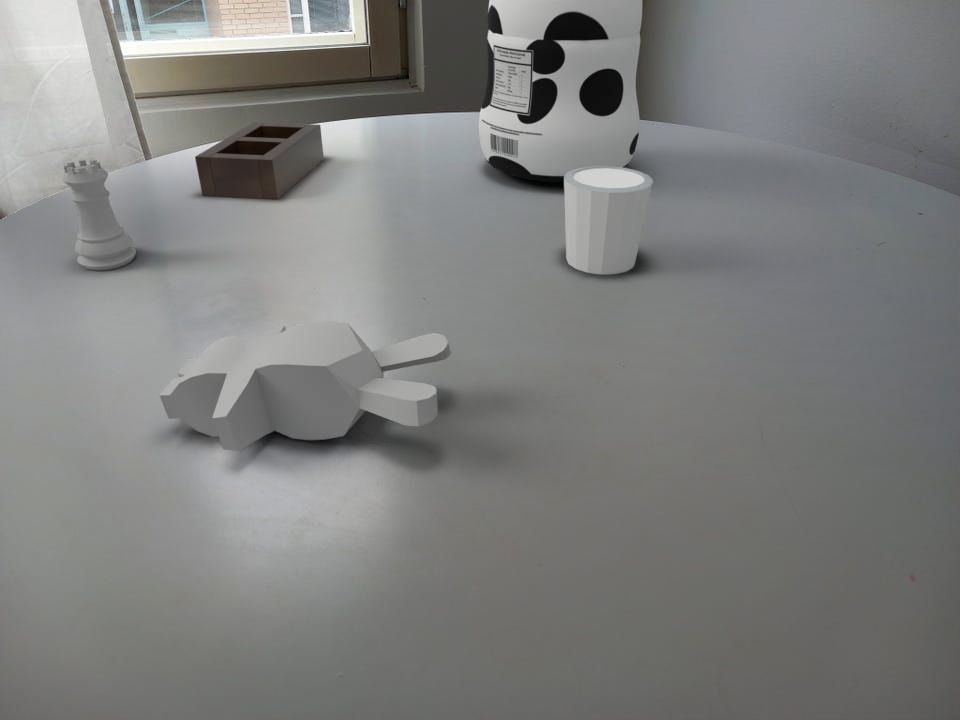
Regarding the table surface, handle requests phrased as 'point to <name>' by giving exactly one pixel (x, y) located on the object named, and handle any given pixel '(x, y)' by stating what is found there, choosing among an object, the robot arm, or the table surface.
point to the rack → (260, 160)
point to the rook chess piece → (96, 219)
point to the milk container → (560, 86)
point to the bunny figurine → (300, 384)
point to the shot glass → (604, 217)
